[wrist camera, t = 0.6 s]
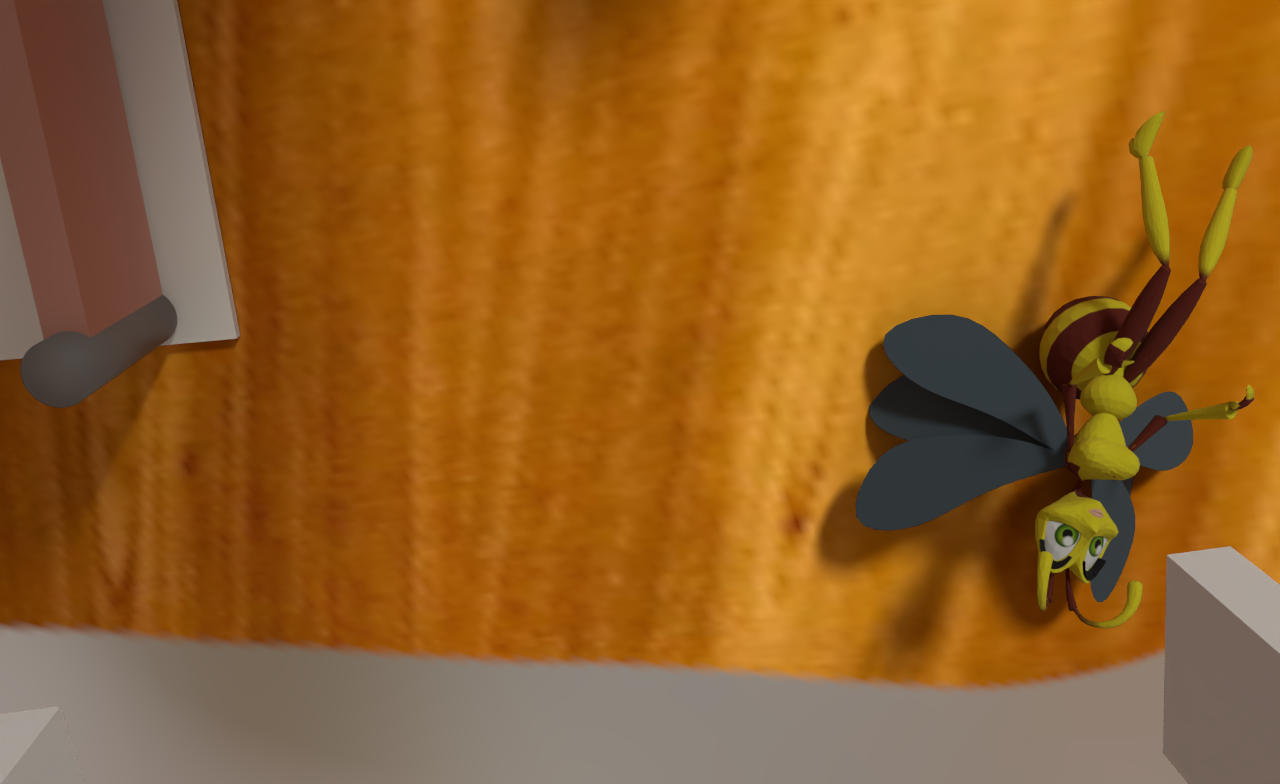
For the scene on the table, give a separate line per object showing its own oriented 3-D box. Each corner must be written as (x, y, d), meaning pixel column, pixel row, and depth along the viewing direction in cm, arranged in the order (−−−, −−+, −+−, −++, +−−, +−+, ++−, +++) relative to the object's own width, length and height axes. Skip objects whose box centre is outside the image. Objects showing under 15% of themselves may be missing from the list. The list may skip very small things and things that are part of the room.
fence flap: (36, -56, 33) (-93, -81, 26) (100, -61, 33) (-14, -88, 26) (124, 347, 36) (29, 410, 30) (182, 342, 36) (99, 403, 30)
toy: (1485, 200, 30) (1247, 699, 33) (1286, 190, 38) (1107, 591, 41) (1103, 45, 29) (882, 584, 31) (979, 69, 37) (811, 495, 39)
